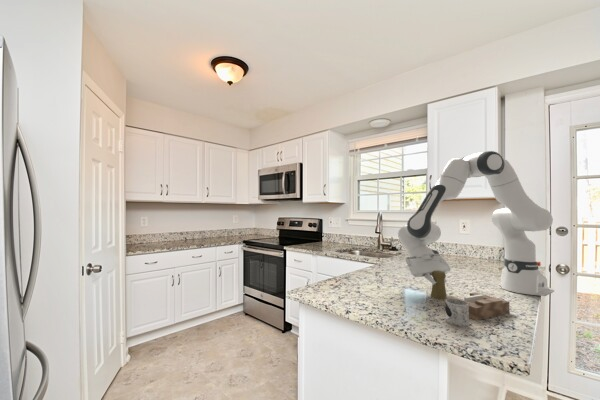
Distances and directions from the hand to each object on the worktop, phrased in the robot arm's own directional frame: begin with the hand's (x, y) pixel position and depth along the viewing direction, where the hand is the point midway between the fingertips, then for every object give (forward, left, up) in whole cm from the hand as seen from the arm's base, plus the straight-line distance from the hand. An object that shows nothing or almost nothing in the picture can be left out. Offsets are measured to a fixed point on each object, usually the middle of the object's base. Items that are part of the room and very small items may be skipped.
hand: (440, 283), depth 113 cm
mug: (+18, +21, -6) cm, 29 cm away
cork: (0, -1, -6) cm, 6 cm away
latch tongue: (0, +15, -5) cm, 16 cm away
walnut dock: (0, +15, -6) cm, 16 cm away
